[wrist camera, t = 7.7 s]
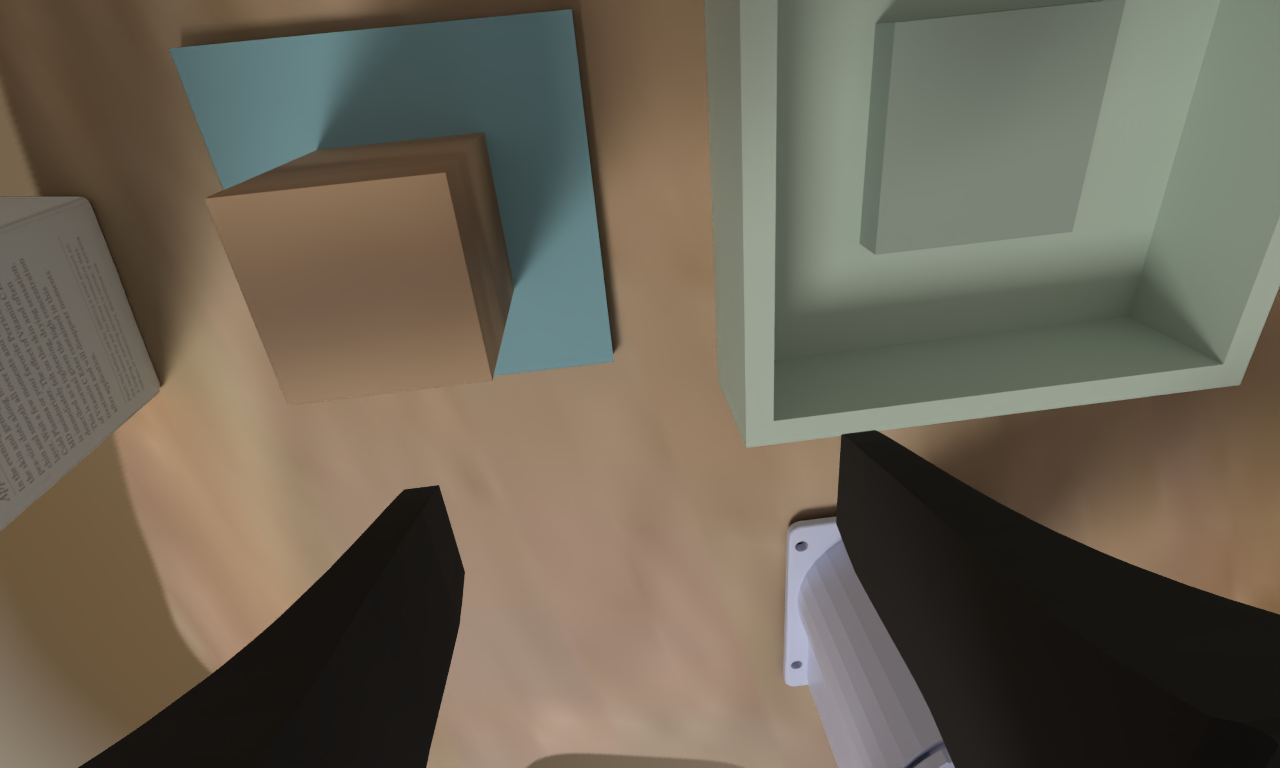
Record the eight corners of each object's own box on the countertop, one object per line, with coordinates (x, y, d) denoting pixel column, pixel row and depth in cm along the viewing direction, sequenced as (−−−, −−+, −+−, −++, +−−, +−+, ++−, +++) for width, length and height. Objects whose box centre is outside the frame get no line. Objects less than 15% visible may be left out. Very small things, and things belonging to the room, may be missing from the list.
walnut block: (514, 288, 20) (492, 380, 14) (364, 306, 20) (287, 405, 14) (483, 132, 18) (445, 172, 12) (316, 150, 17) (203, 198, 12)
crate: (1126, 326, 23) (1240, 385, 19) (716, 376, 23) (746, 447, 19) (1287, -224, 16) (1517, -308, 12) (695, -169, 16) (736, -240, 12)
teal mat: (612, 354, 22) (613, 361, 21) (309, 390, 21) (303, 398, 21) (571, 9, 17) (571, 9, 16) (179, 48, 16) (168, 48, 16)
